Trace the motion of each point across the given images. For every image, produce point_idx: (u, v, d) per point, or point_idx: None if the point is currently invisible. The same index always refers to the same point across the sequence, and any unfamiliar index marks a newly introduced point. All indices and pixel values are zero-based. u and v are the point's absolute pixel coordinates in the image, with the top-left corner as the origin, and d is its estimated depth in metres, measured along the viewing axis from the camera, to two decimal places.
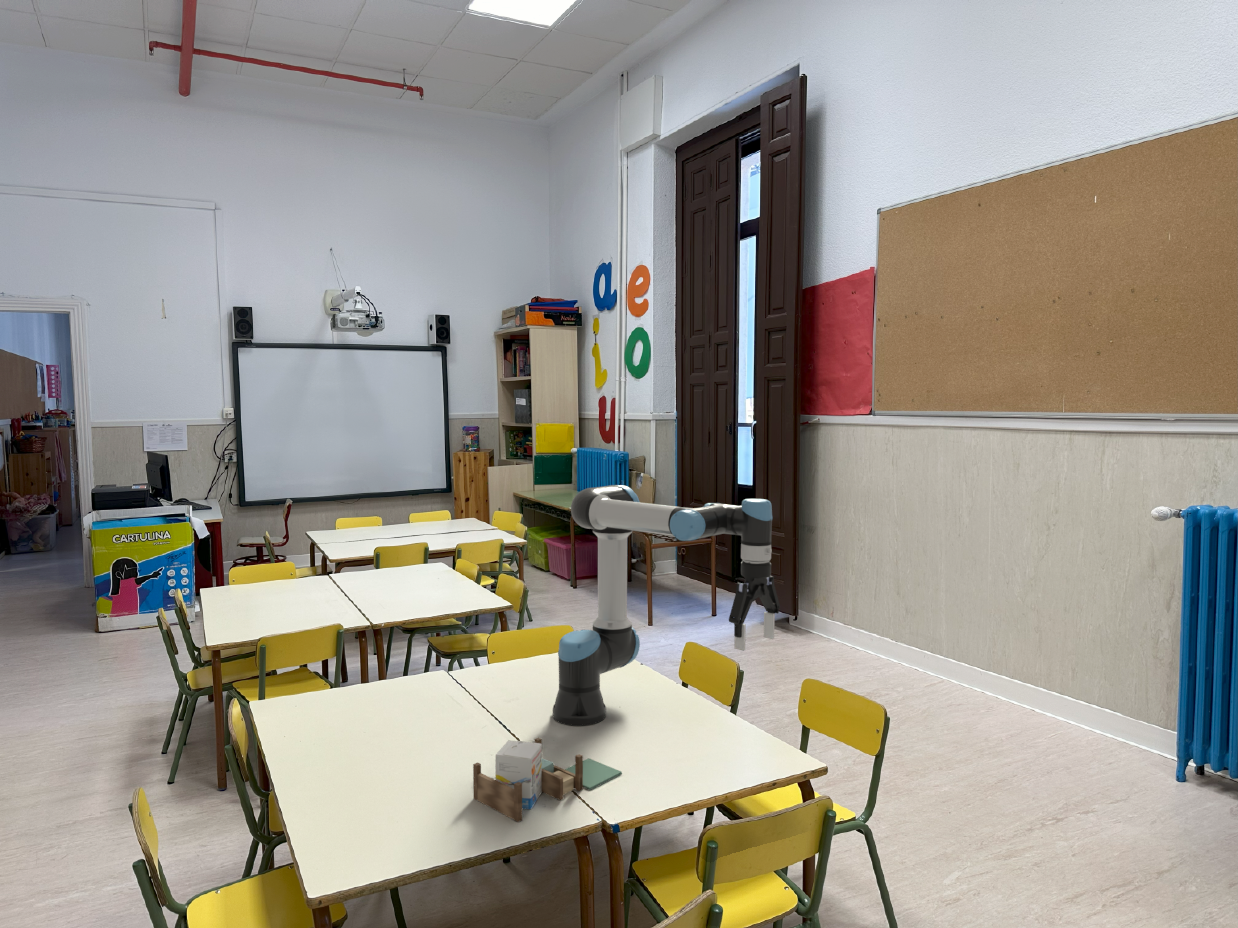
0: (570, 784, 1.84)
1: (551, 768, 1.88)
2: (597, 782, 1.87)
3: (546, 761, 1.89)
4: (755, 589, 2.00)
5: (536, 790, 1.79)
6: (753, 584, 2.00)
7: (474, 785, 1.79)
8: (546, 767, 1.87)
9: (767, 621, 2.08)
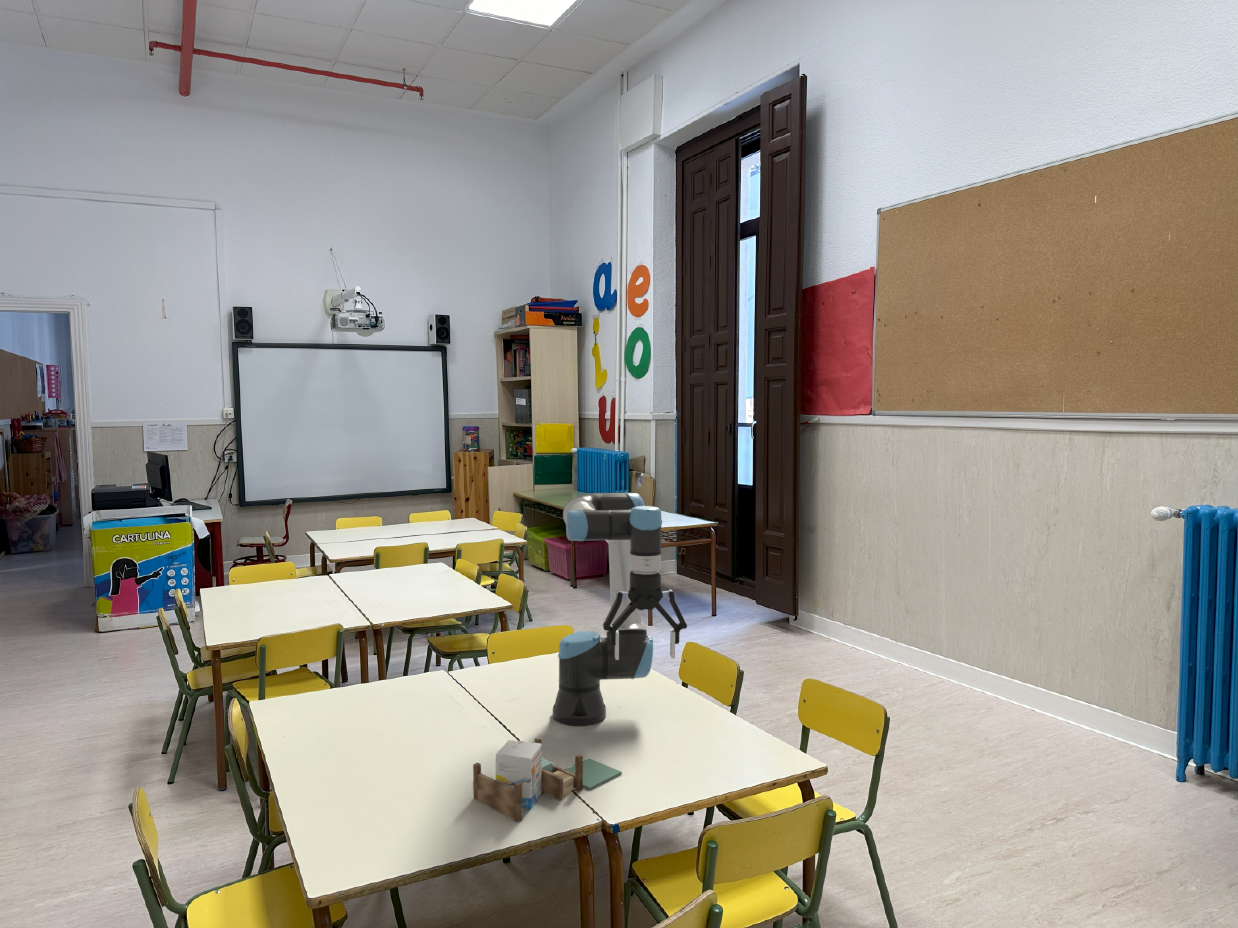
0: (570, 784, 1.84)
1: (550, 768, 1.88)
2: (597, 782, 1.87)
3: (545, 761, 1.89)
4: (636, 600, 1.92)
5: (536, 790, 1.79)
6: (634, 594, 1.92)
7: (474, 785, 1.79)
8: (545, 767, 1.87)
9: (670, 639, 1.95)
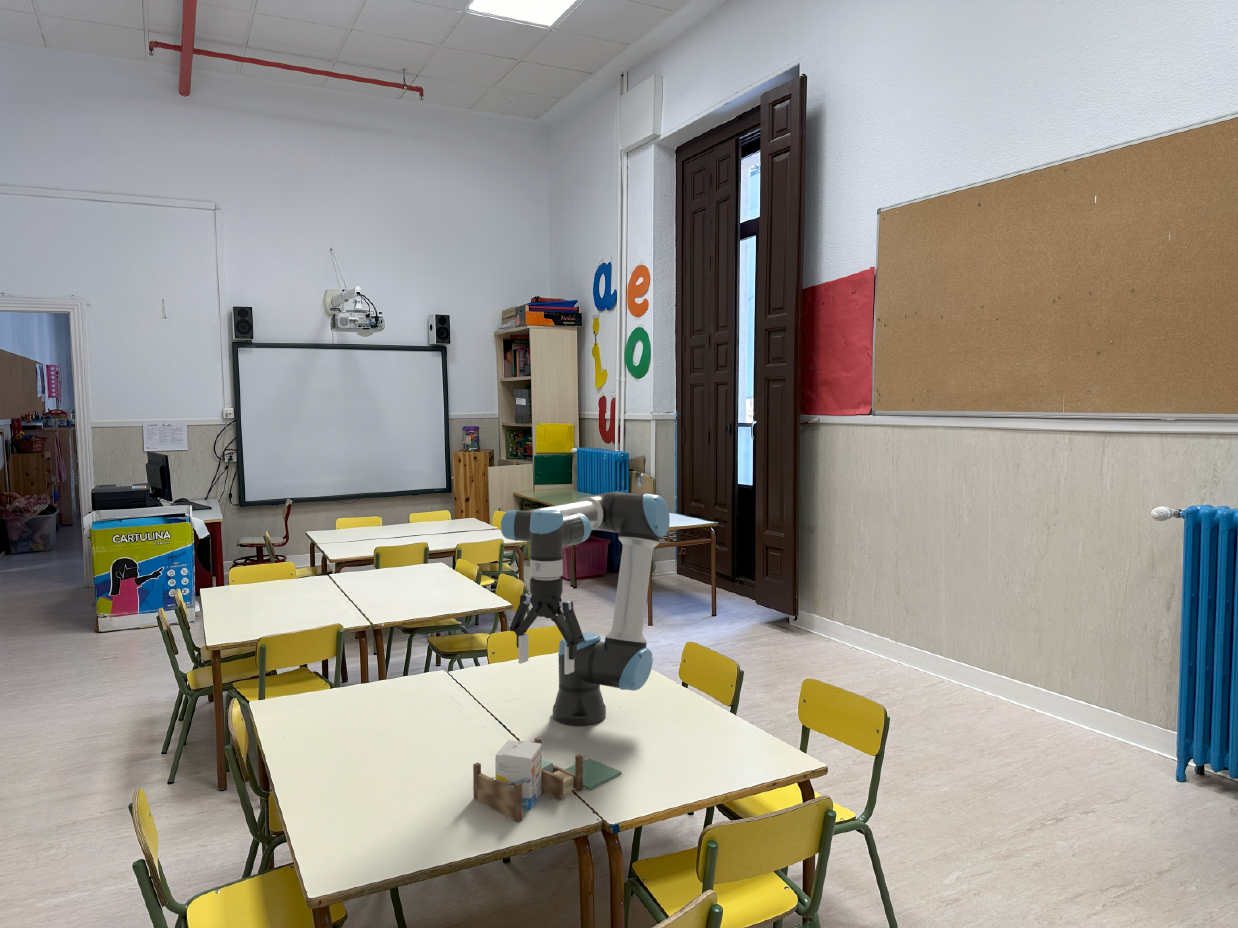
0: (570, 784, 1.84)
1: (551, 768, 1.88)
2: (597, 782, 1.87)
3: (545, 761, 1.89)
4: None
5: (536, 790, 1.79)
6: (533, 599, 1.86)
7: (474, 785, 1.79)
8: (546, 767, 1.86)
9: None
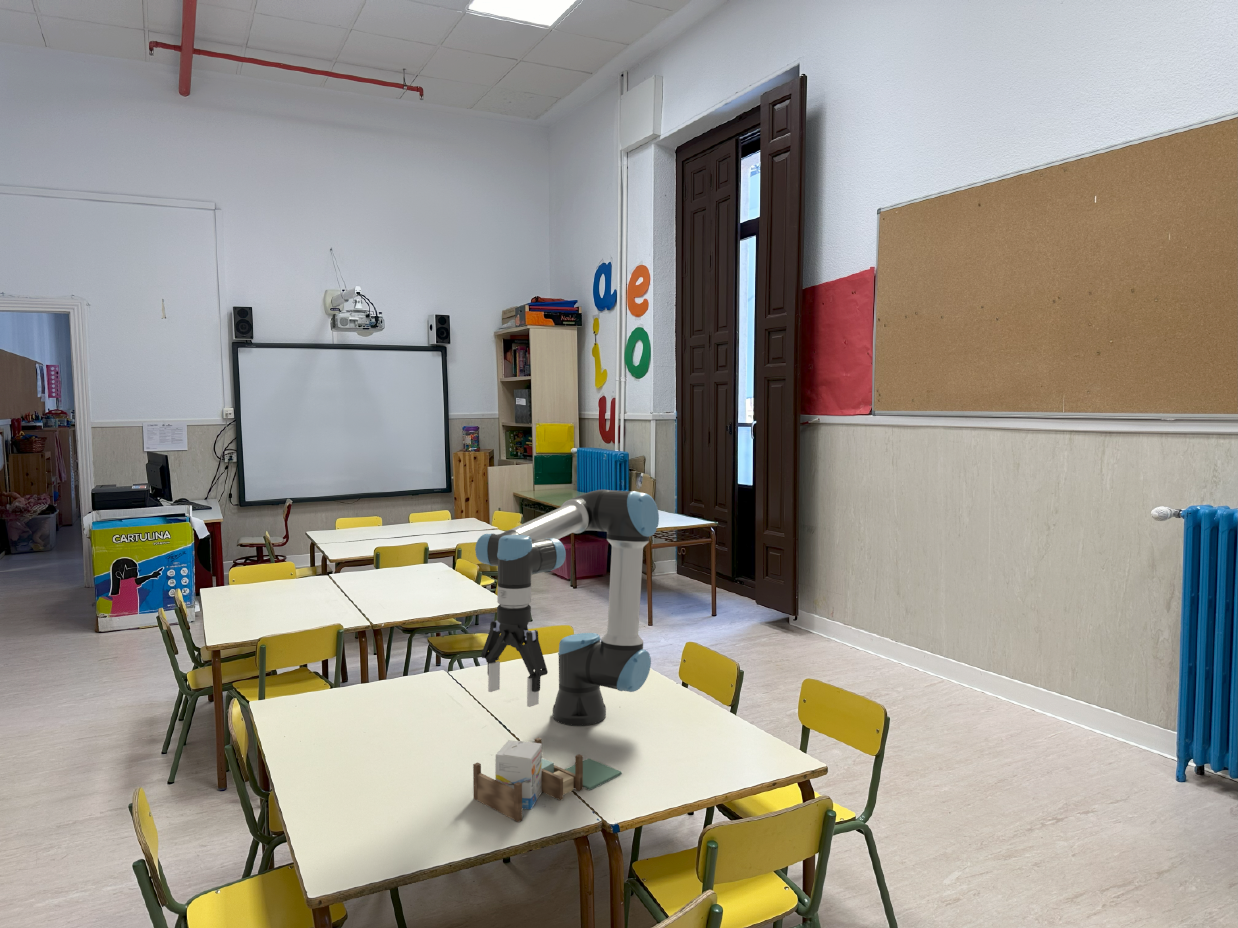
0: (570, 784, 1.84)
1: (551, 768, 1.88)
2: (597, 782, 1.87)
3: (546, 761, 1.89)
4: None
5: (536, 790, 1.79)
6: (502, 627, 1.82)
7: (474, 785, 1.79)
8: (546, 767, 1.86)
9: None
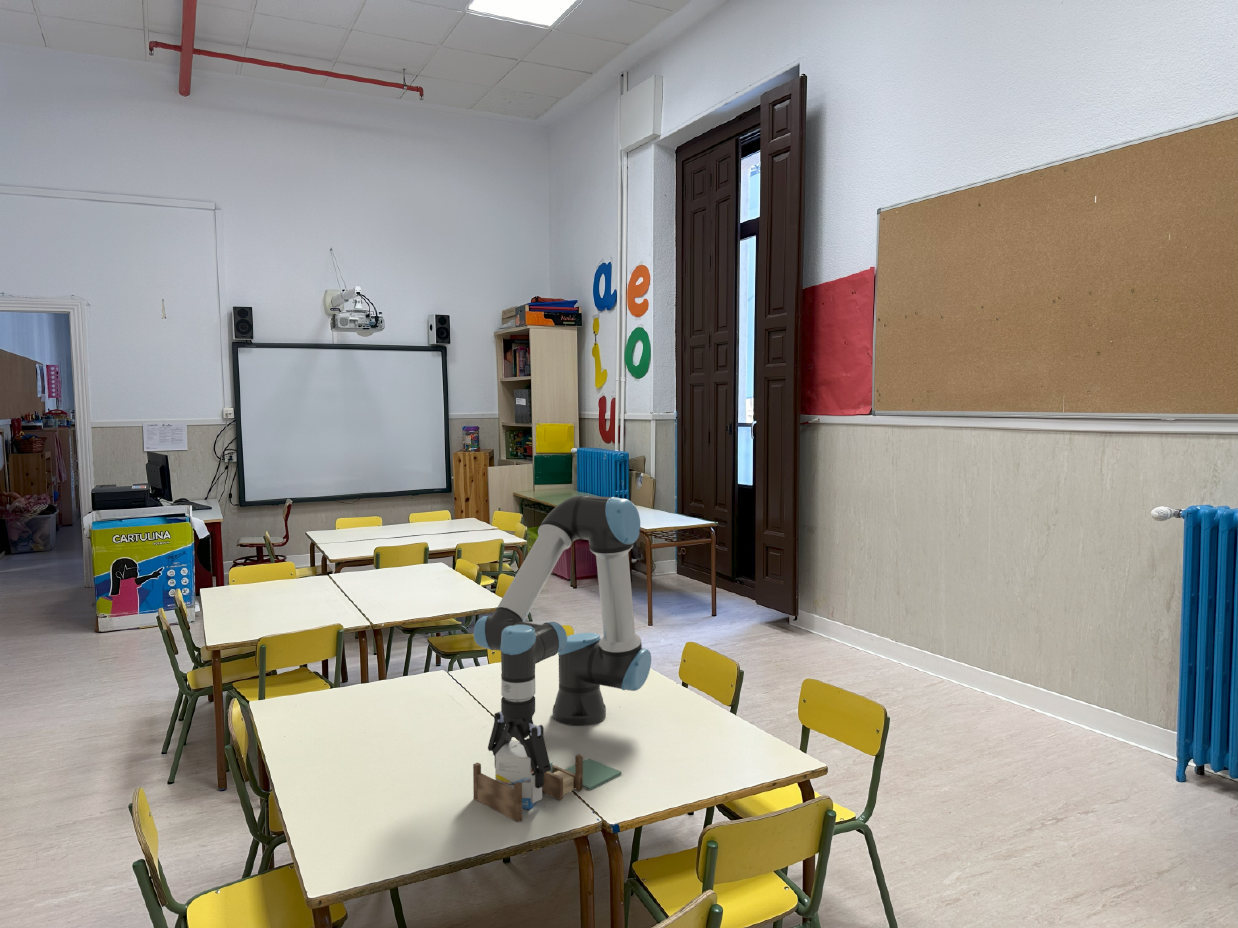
0: (570, 784, 1.83)
1: None
2: (597, 782, 1.87)
3: None
4: None
5: None
6: (506, 718, 1.80)
7: (474, 785, 1.79)
8: None
9: None
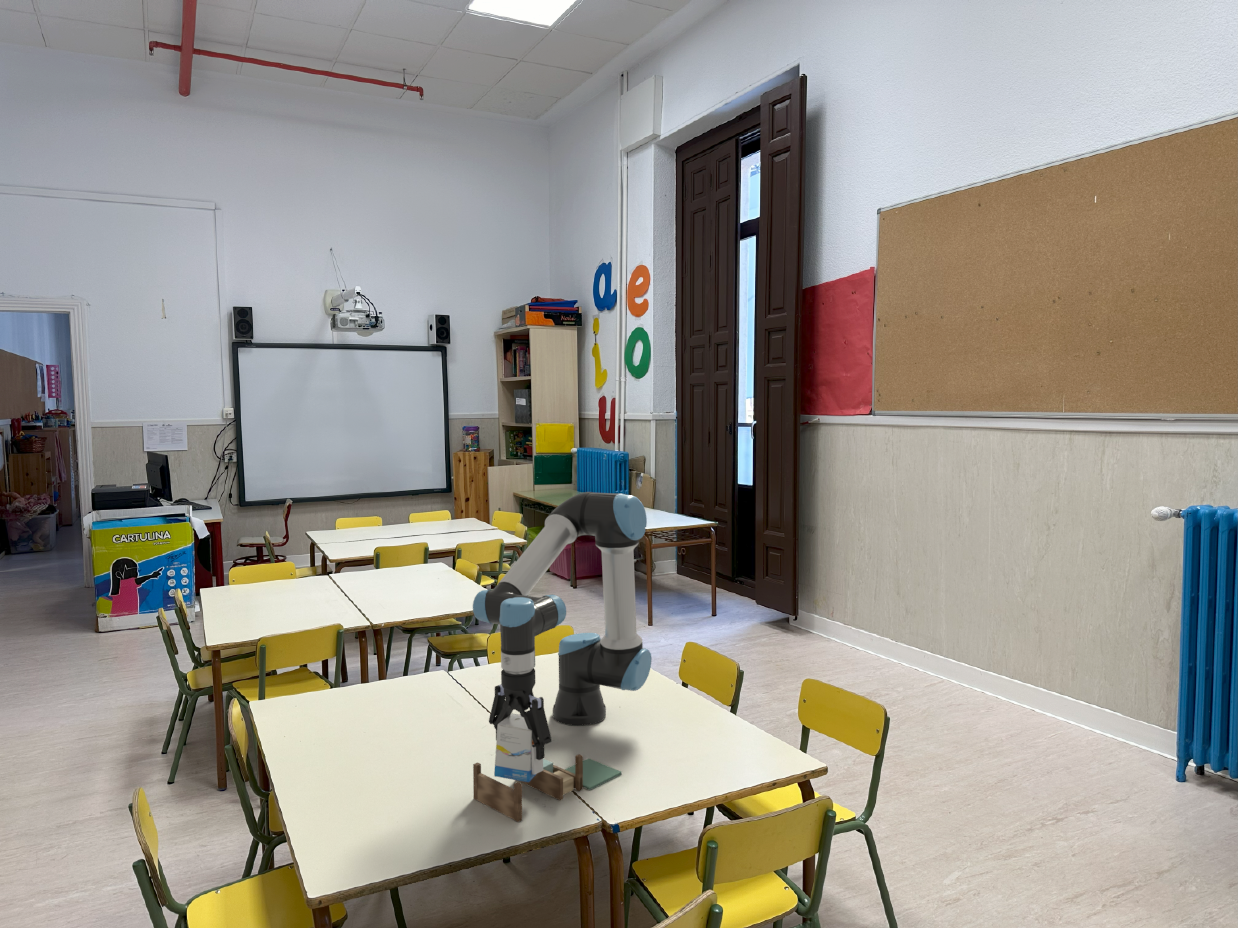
0: (570, 784, 1.83)
1: (551, 768, 1.88)
2: (597, 782, 1.87)
3: (546, 761, 1.89)
4: None
5: None
6: (506, 690, 1.79)
7: (474, 785, 1.79)
8: (545, 767, 1.87)
9: None
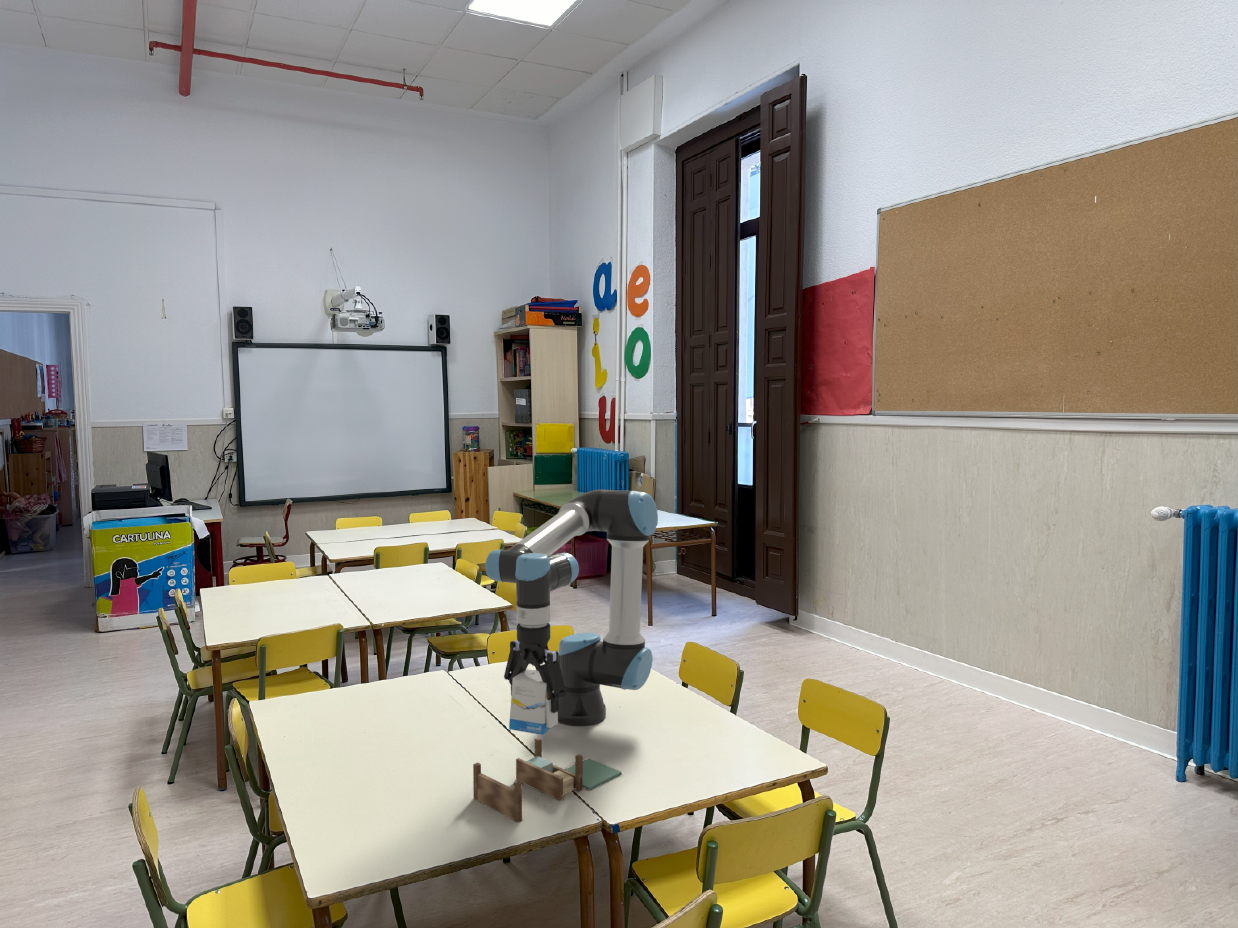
0: (570, 784, 1.83)
1: (550, 768, 1.88)
2: (597, 782, 1.87)
3: (545, 761, 1.89)
4: None
5: None
6: (521, 645, 1.81)
7: (474, 785, 1.79)
8: (545, 767, 1.87)
9: None
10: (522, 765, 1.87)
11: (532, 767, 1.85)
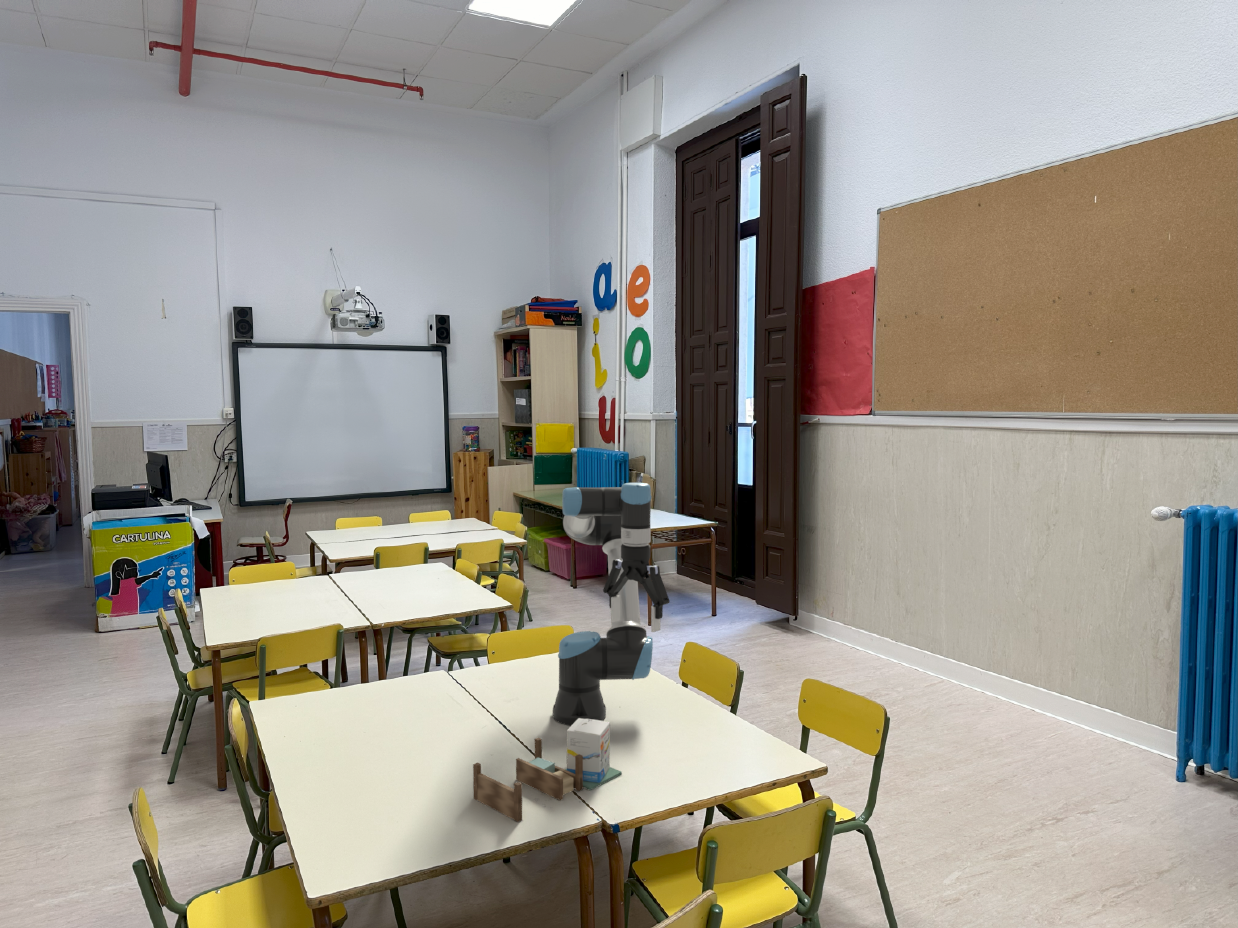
0: (569, 785, 1.83)
1: (552, 768, 1.88)
2: None
3: (547, 762, 1.89)
4: None
5: (604, 765, 1.90)
6: (624, 564, 2.06)
7: (474, 785, 1.79)
8: (548, 768, 1.86)
9: None
10: (522, 765, 1.87)
11: (532, 767, 1.85)
